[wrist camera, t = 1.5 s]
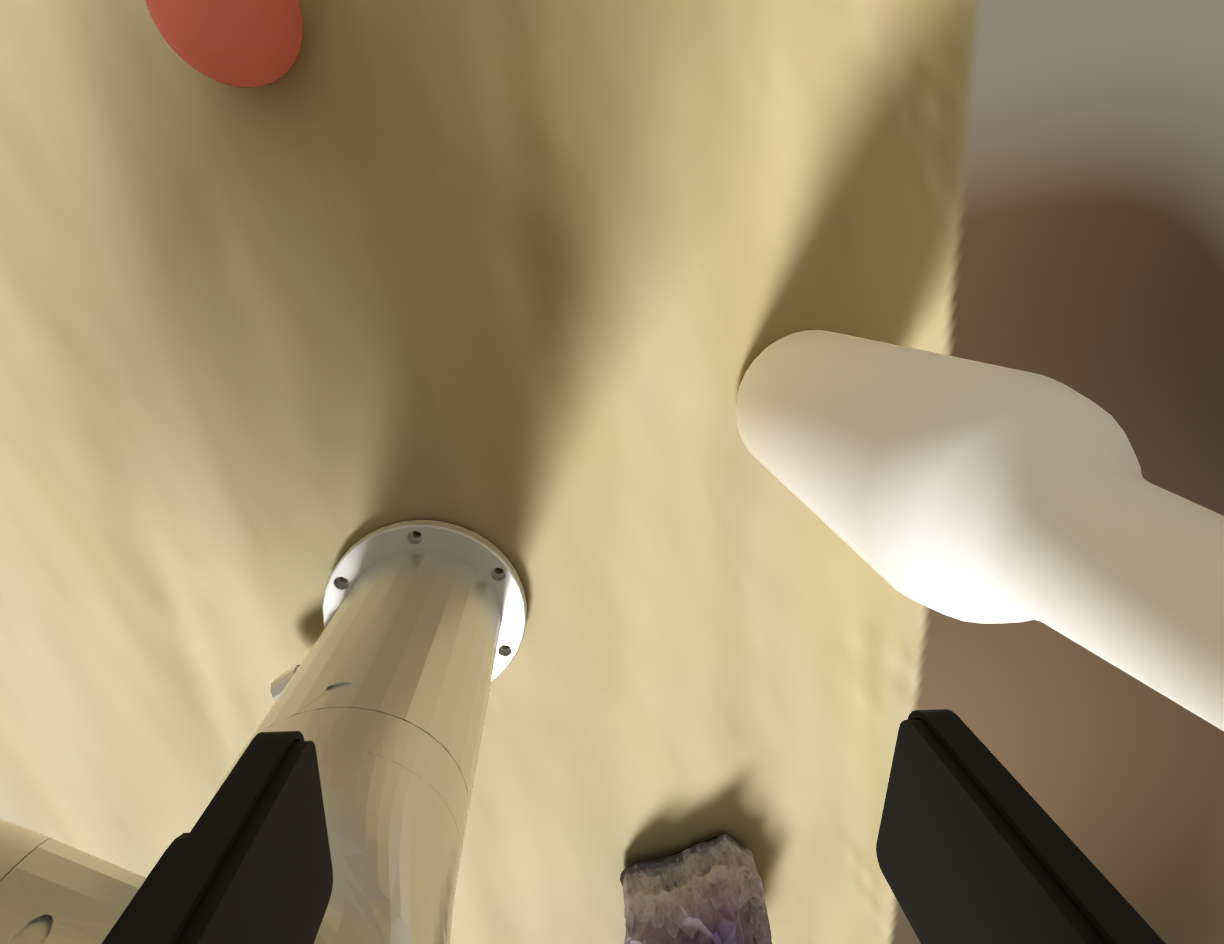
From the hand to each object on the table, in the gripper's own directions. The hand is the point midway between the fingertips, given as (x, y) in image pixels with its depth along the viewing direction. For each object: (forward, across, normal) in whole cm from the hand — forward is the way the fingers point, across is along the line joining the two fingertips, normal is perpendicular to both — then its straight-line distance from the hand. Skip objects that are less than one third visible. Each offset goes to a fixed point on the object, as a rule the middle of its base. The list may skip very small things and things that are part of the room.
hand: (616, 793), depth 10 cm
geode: (+29, -10, +42) cm, 52 cm away
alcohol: (+29, -14, -1) cm, 32 cm away
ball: (+26, +16, -19) cm, 35 cm away
